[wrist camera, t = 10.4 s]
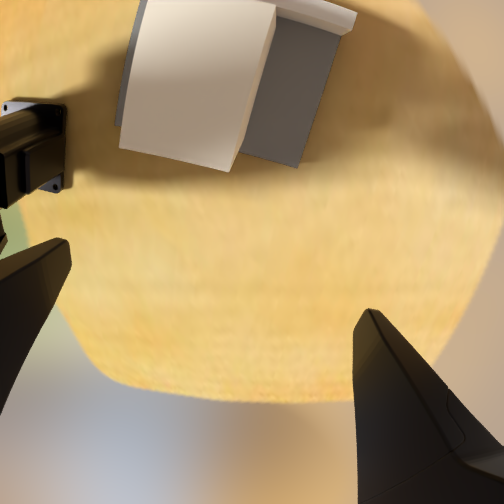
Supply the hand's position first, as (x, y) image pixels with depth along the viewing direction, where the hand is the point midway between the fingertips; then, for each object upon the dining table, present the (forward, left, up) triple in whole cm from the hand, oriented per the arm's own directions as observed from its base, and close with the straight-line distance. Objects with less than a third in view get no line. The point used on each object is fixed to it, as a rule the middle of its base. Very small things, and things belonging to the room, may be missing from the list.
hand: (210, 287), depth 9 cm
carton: (-3, +5, -11) cm, 12 cm away
